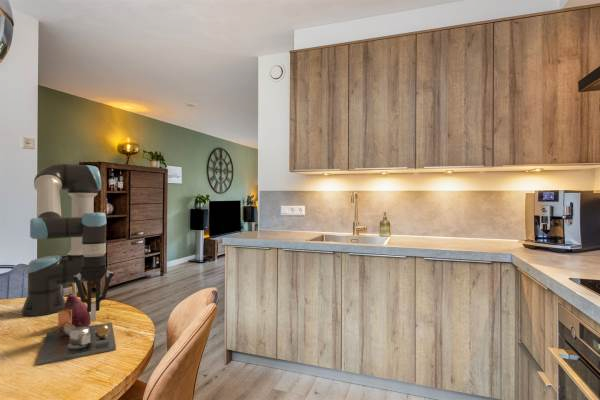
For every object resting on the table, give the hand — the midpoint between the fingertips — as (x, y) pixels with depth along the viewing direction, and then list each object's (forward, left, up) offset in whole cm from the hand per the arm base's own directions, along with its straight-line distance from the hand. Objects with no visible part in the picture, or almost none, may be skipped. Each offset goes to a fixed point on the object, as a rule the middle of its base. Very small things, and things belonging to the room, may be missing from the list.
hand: (93, 320), depth 123 cm
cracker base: (+7, -4, -5) cm, 9 cm away
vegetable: (-13, -6, -5) cm, 15 cm away
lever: (+8, -6, -2) cm, 10 cm away
